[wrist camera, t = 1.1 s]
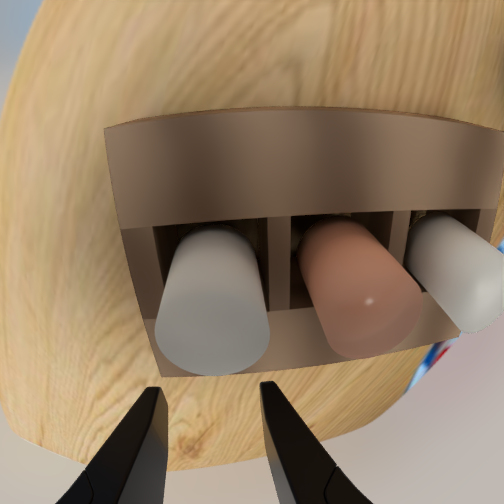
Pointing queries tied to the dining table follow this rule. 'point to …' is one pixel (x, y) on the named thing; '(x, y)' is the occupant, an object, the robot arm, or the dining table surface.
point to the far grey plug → (457, 270)
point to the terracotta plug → (357, 288)
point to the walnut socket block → (295, 199)
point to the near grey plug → (213, 304)
